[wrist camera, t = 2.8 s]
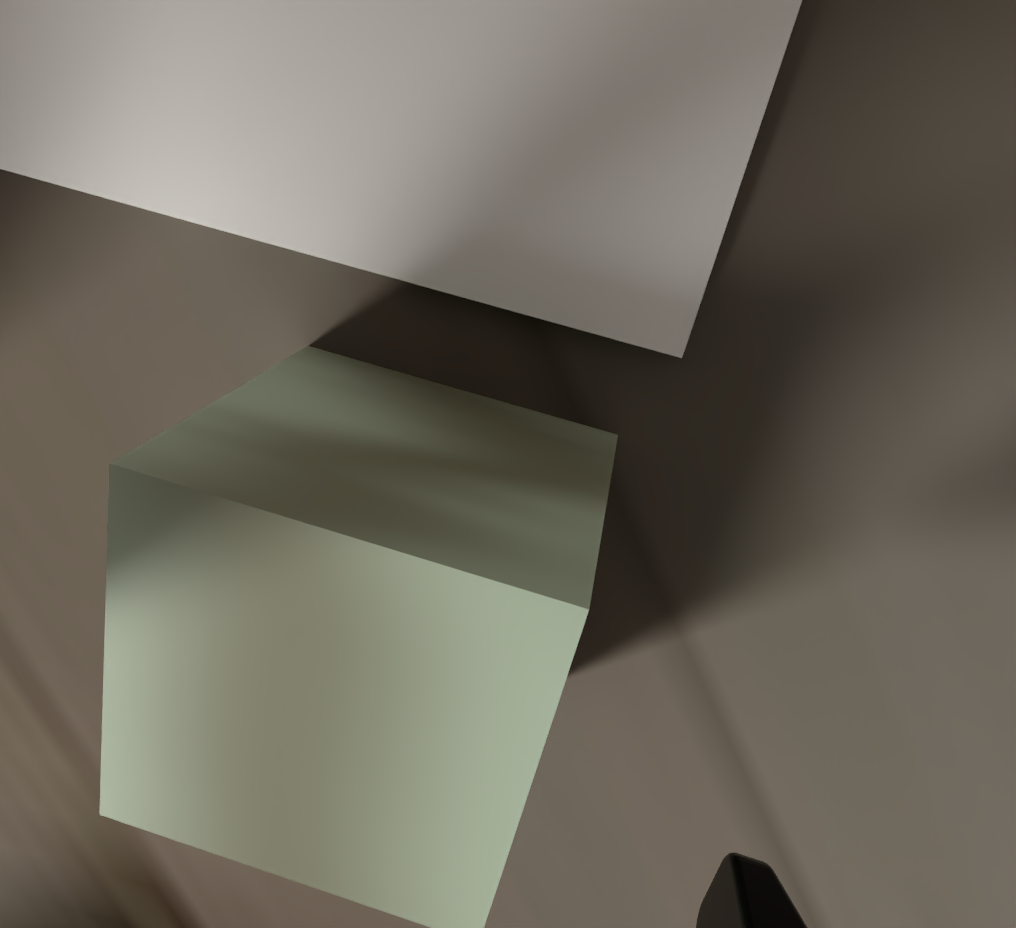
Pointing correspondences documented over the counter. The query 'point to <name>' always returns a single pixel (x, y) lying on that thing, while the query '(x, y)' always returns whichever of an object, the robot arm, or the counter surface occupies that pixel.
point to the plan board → (418, 135)
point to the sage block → (347, 628)
